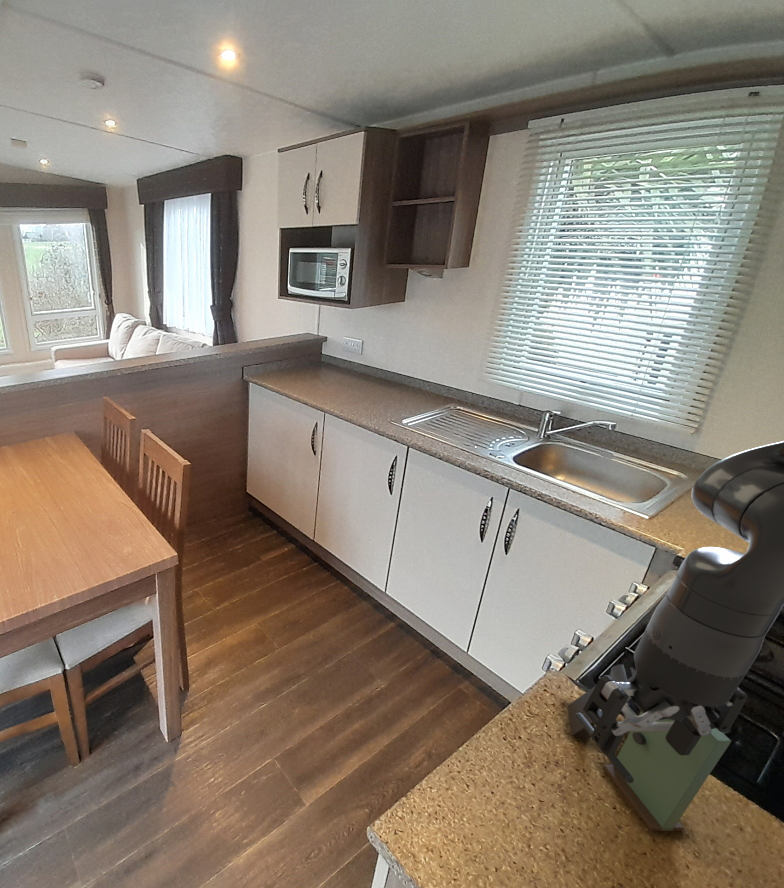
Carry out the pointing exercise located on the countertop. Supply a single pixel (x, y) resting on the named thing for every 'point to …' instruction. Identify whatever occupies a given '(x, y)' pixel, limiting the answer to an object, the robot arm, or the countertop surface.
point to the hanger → (612, 758)
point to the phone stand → (578, 705)
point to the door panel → (664, 773)
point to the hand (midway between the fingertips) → (638, 747)
